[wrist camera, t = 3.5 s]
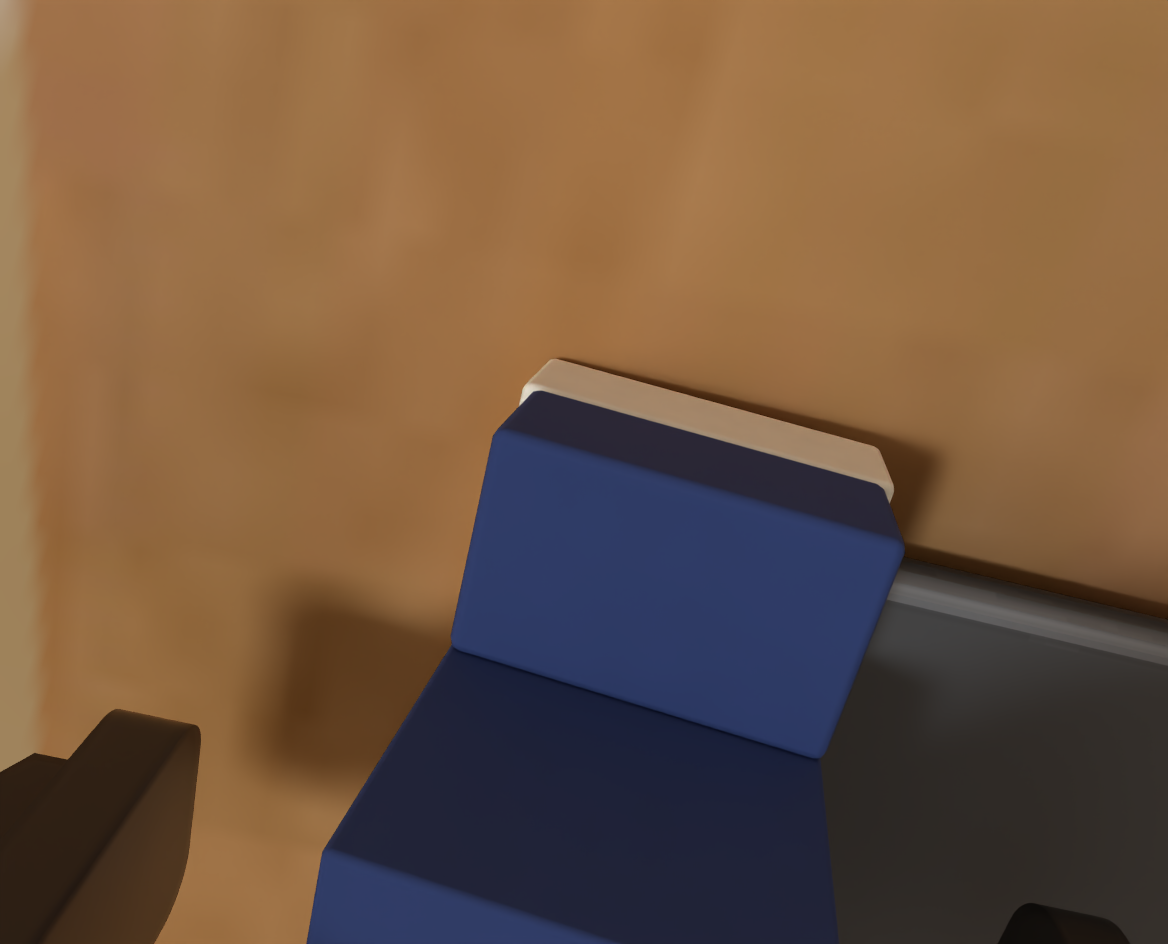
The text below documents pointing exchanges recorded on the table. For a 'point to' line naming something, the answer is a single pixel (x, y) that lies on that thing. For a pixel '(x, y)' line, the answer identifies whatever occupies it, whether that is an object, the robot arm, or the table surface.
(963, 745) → the smartphone
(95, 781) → the robot arm
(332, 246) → the table surface
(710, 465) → the blue stepped block
